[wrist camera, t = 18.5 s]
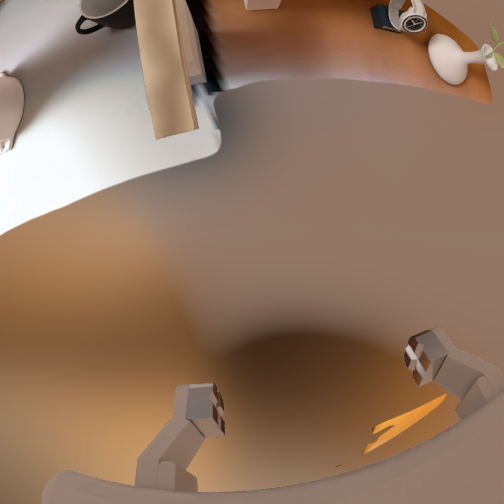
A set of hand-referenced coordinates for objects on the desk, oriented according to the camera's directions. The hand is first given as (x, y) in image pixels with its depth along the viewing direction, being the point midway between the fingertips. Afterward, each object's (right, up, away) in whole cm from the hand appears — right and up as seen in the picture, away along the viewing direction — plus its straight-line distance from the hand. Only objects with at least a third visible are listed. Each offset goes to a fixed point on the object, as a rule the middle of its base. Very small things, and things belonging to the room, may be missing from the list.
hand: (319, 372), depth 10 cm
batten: (-11, +26, +9) cm, 30 cm away
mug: (-24, +43, +17) cm, 52 cm away
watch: (+21, +46, +20) cm, 54 cm away
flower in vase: (+36, +44, +22) cm, 61 cm away
